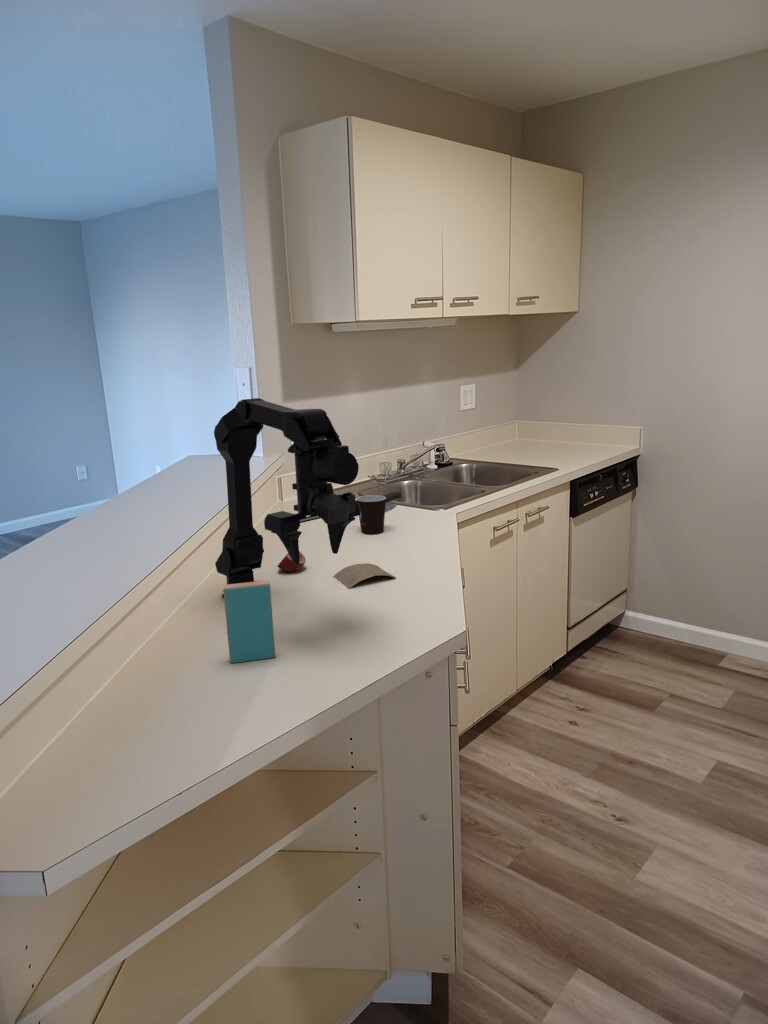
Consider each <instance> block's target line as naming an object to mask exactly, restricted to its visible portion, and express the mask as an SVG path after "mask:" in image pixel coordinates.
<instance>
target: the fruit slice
mask: <svg viewBox="0 0 768 1024" xmlns="http://www.w3.org/2000/svg"><path fill="white" fill-rule="evenodd" d="M305 564H306V557H305V555H304V554H303V553H302V551H300V550H299V565H295V564H294V563H293V561H292V559H291V557H290V555H289V553H288V552H287V553H286V555H285V556H284V557H283V558H282V560H281V561H280V562H279V563H278V565H277V568H278V569H280V570H281V571H283V572H293V571H296V570H298V569H300V568H302V567H303V566H304V565H305Z"/></svg>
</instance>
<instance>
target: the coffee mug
mask: <svg viewBox="0 0 768 1024" xmlns="http://www.w3.org/2000/svg"><path fill="white" fill-rule="evenodd" d="M355 500H356V501H357V502H358V504H359V505H360V515H359V516H358V518H359V519H358V520H359V524H360V525H359V526H360V531H361V533H362V534H363V535H367V536H375V535H380V534H383V533H384V530H385V529H384V527H385V518H386V517H385V516H386V512H385V505H386V503H387V502H386V497H384V496H383V495H376V494H374V495H373V494H369V495H361V496H359V497H355Z"/></svg>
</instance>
